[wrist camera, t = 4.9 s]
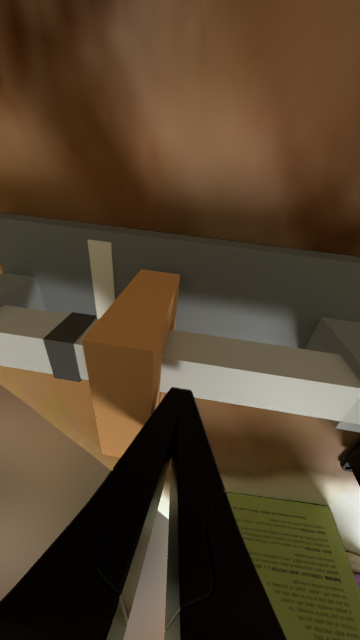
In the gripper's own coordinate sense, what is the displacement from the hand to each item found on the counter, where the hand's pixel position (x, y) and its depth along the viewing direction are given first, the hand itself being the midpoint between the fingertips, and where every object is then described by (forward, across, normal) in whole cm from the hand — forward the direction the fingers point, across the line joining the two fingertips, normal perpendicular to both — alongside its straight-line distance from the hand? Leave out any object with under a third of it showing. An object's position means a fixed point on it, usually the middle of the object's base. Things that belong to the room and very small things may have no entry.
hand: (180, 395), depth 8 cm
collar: (+5, +2, 0) cm, 5 cm away
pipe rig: (+7, +1, 0) cm, 7 cm away
